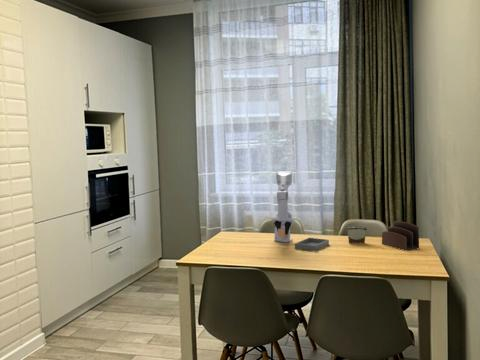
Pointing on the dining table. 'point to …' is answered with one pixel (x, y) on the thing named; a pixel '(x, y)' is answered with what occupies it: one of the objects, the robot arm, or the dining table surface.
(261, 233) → the dining table surface
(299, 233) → the dining table surface
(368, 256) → the dining table surface
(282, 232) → the terracotta block
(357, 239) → the food container
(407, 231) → the letter holder
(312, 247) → the baking dish
